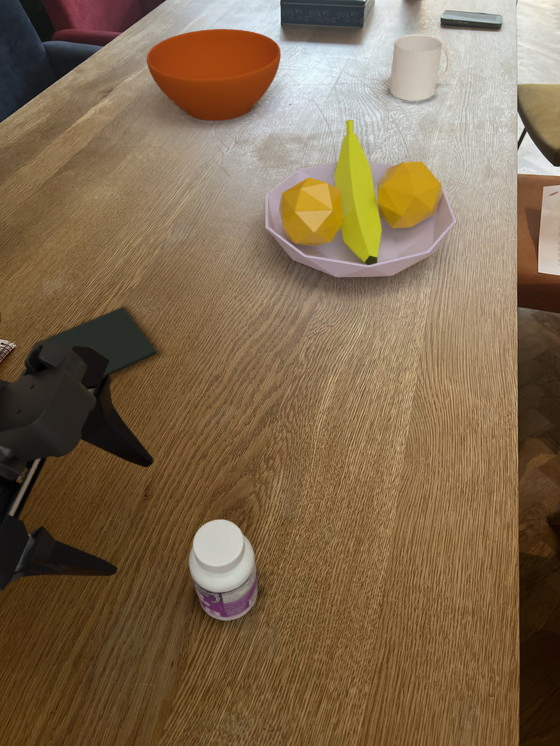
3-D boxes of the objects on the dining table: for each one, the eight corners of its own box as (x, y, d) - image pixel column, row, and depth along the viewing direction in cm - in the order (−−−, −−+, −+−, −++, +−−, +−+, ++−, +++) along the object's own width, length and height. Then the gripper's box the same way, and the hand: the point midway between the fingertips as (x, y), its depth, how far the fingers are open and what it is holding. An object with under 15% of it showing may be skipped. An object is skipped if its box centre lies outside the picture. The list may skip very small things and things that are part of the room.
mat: (79, 388, 72) (78, 385, 71) (50, 339, 77) (49, 337, 77) (156, 353, 75) (156, 350, 75) (123, 309, 81) (122, 306, 81)
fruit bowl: (437, 315, 79) (453, 241, 70) (238, 280, 84) (231, 208, 76) (459, 200, 97) (474, 131, 88) (294, 178, 102) (294, 111, 94)
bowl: (279, 77, 131) (278, 26, 123) (283, 132, 114) (282, 76, 106) (162, 82, 131) (154, 31, 123) (148, 137, 114) (138, 82, 106)
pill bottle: (187, 587, 55) (170, 535, 48) (235, 553, 57) (226, 498, 50) (220, 636, 52) (207, 588, 45) (270, 598, 54) (265, 546, 47)
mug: (393, 102, 121) (399, 52, 114) (385, 83, 127) (390, 35, 120) (453, 99, 121) (463, 49, 115) (443, 81, 128) (451, 32, 121)
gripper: (-113, 496, 28) (160, 618, 35) (46, 254, 41) (224, 378, 48) (-170, 555, 35) (69, 648, 42) (-19, 331, 47) (146, 431, 54)
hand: (133, 514), depth 46 cm, fingers open, 9 cm apart
